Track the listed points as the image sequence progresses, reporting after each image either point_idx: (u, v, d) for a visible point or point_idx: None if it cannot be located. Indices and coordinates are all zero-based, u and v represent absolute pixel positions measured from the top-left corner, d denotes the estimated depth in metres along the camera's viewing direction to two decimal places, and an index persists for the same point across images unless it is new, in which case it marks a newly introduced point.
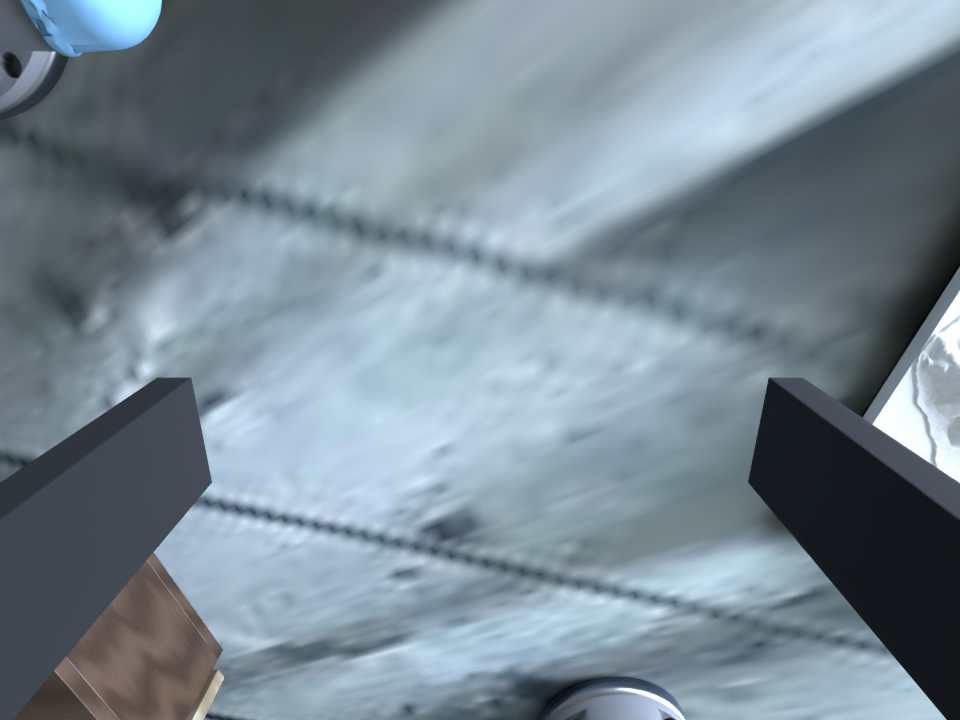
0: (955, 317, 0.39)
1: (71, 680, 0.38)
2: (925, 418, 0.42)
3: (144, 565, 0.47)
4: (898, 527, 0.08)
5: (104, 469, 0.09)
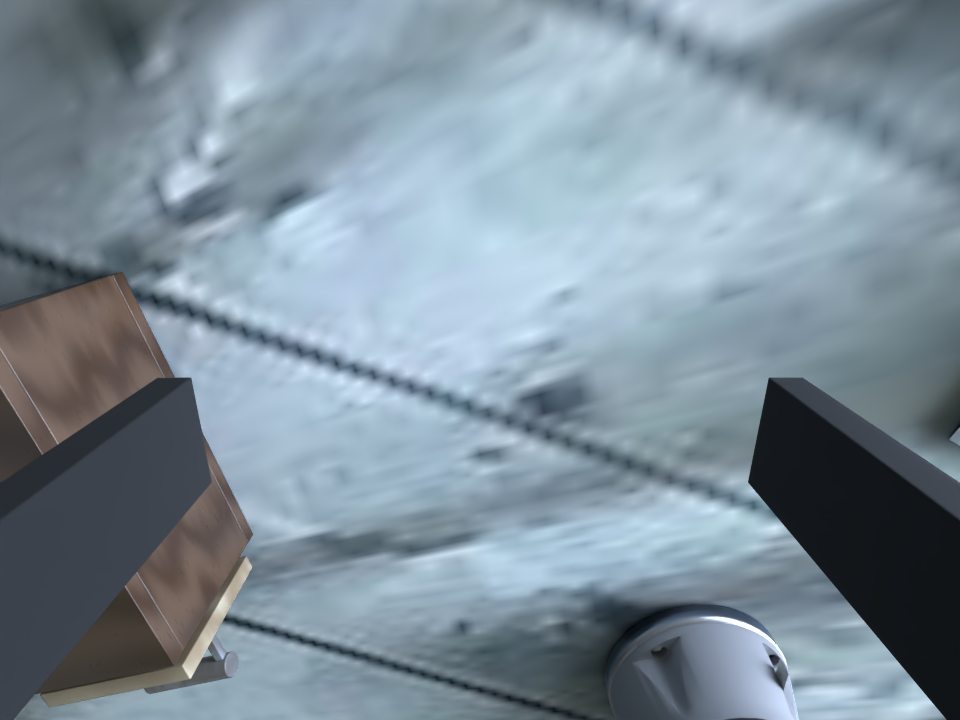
0: None
1: None
2: None
3: None
4: (898, 527, 0.08)
5: (104, 469, 0.09)
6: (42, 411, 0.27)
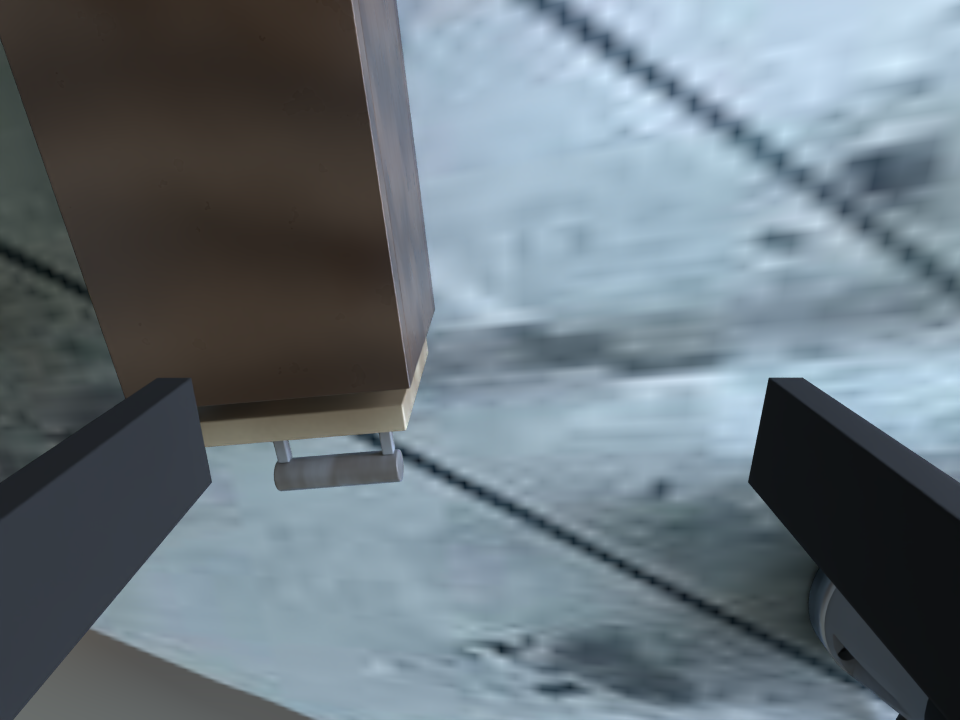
0: None
1: (366, 77, 0.17)
2: None
3: (402, 78, 0.26)
4: (898, 527, 0.08)
5: (104, 469, 0.09)
6: None
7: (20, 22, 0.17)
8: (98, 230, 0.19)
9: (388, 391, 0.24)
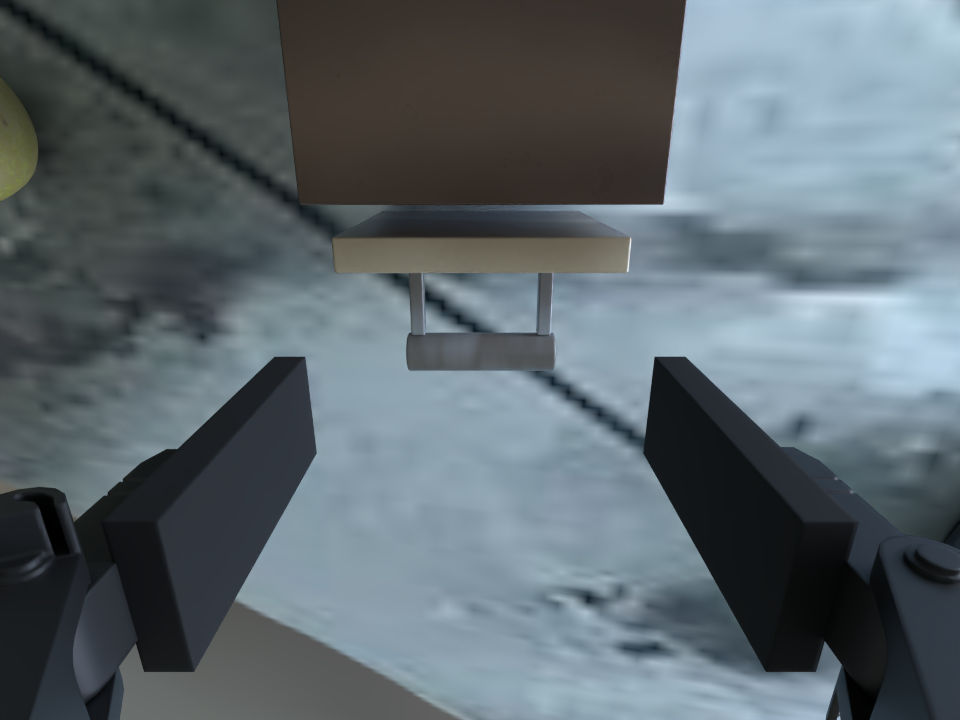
0: None
1: None
2: None
3: None
4: (722, 478, 0.10)
5: (259, 431, 0.11)
6: None
7: None
8: None
9: (596, 231, 0.19)
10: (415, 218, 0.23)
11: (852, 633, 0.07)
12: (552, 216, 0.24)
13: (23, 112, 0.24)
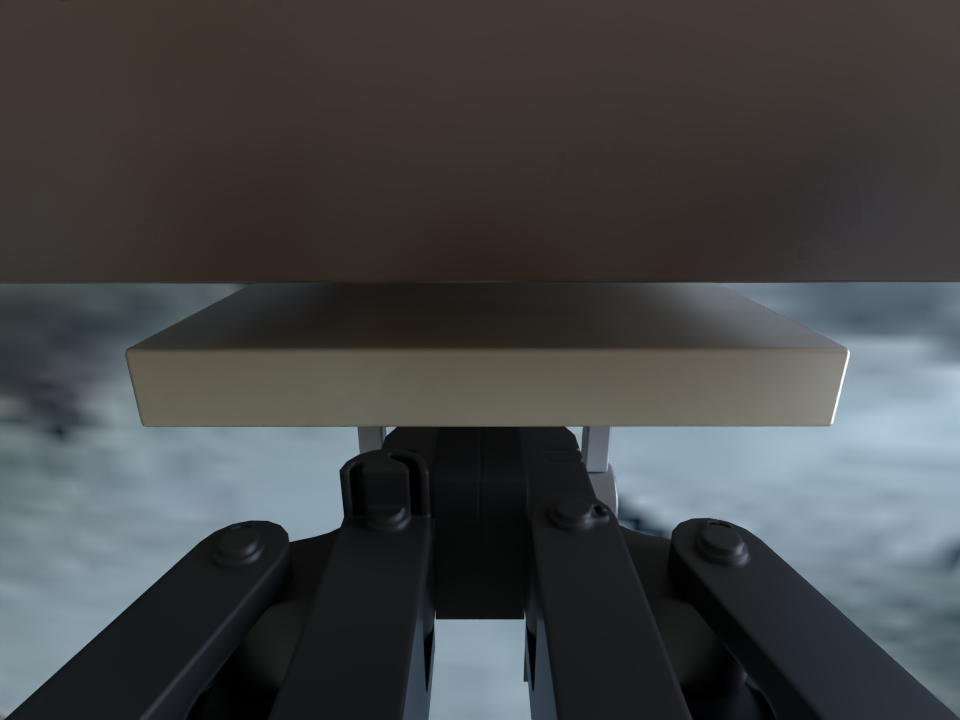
0: None
1: None
2: None
3: None
4: None
5: None
6: None
7: None
8: None
9: (737, 317, 0.09)
10: None
11: (525, 593, 0.08)
12: None
13: None
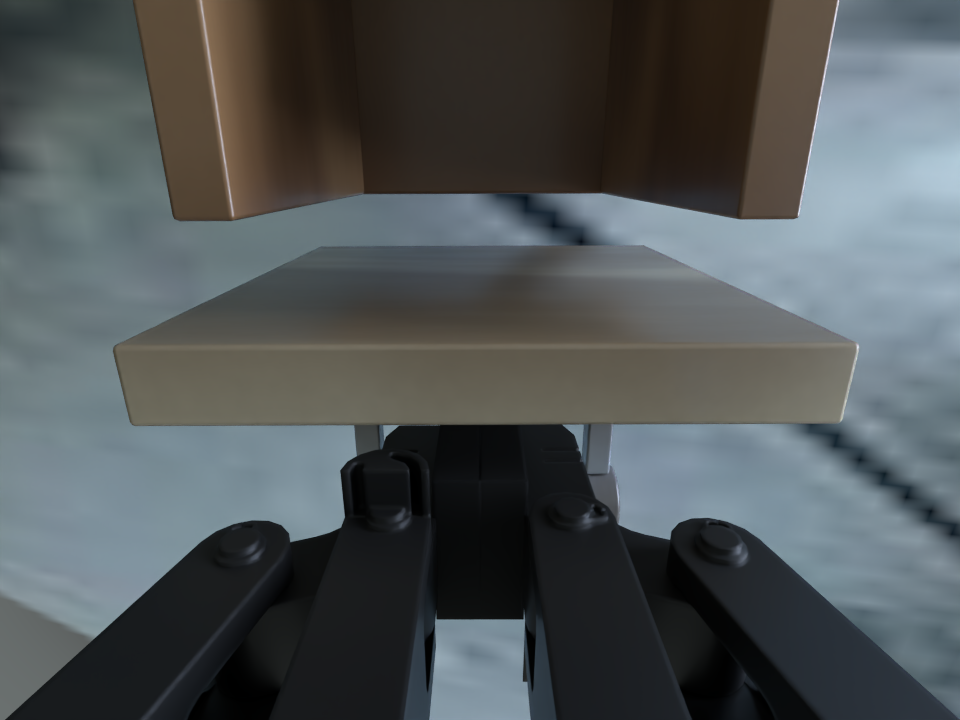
0: None
1: None
2: None
3: None
4: None
5: None
6: None
7: None
8: None
9: (742, 313, 0.09)
10: (363, 266, 0.13)
11: (524, 593, 0.08)
12: (609, 259, 0.14)
13: None
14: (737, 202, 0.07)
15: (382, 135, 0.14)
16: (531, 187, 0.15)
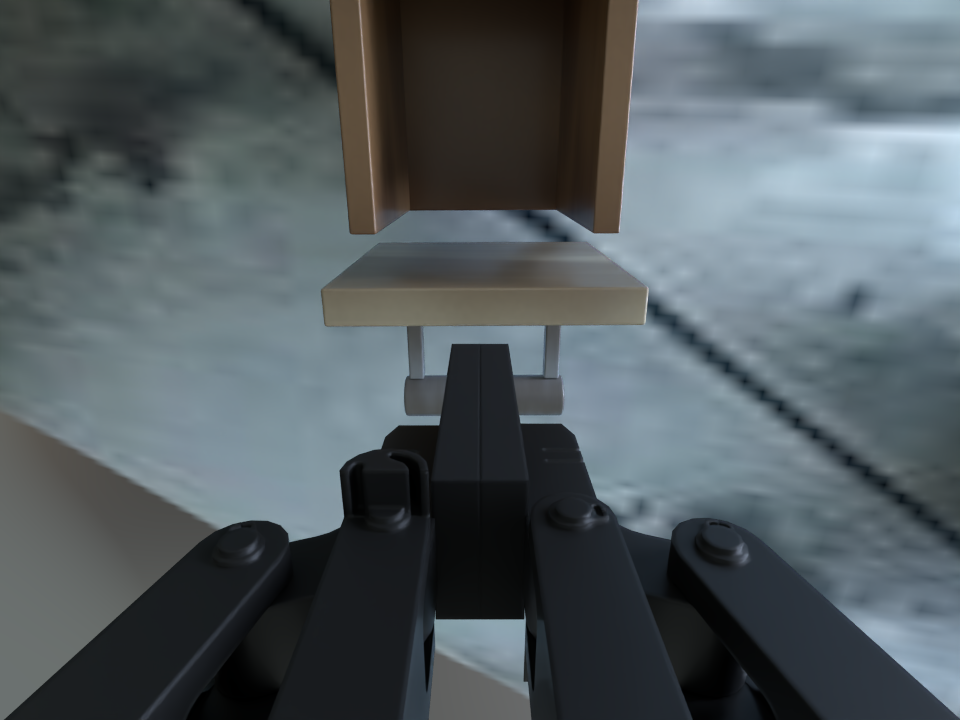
0: None
1: None
2: None
3: None
4: None
5: None
6: None
7: None
8: None
9: (609, 276, 0.18)
10: (413, 255, 0.22)
11: (525, 593, 0.08)
12: (559, 251, 0.23)
13: None
14: (592, 226, 0.16)
15: (421, 175, 0.23)
16: (513, 206, 0.24)
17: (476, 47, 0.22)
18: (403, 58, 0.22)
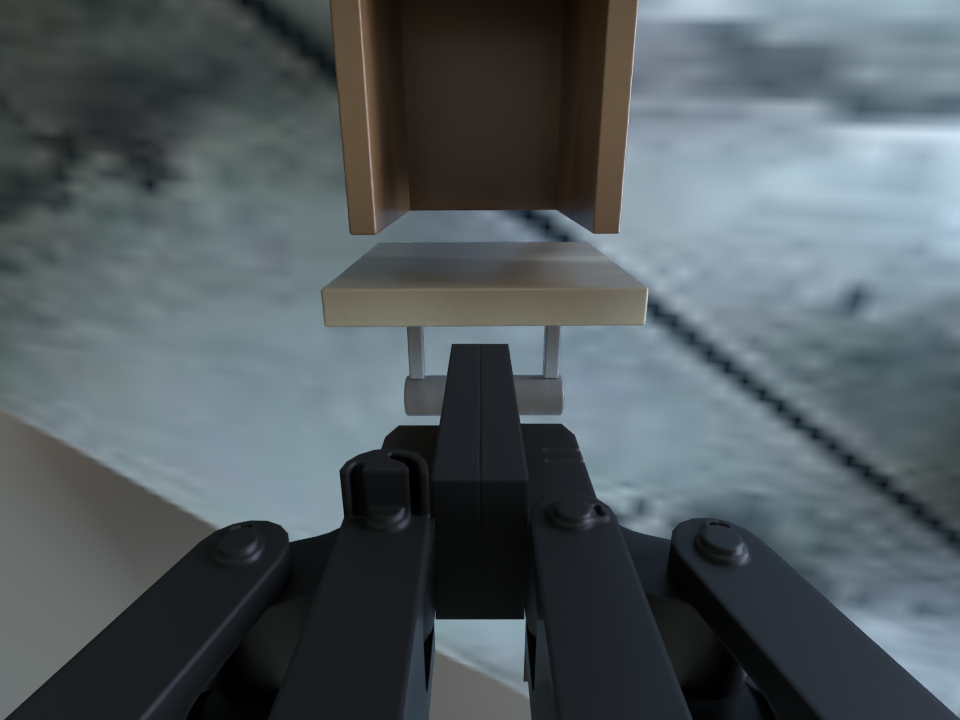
0: None
1: None
2: None
3: None
4: None
5: None
6: None
7: None
8: None
9: (609, 277, 0.18)
10: (413, 255, 0.22)
11: (525, 593, 0.08)
12: (559, 251, 0.23)
13: None
14: (592, 226, 0.16)
15: (421, 175, 0.23)
16: (513, 206, 0.24)
17: (476, 47, 0.22)
18: (403, 58, 0.22)
